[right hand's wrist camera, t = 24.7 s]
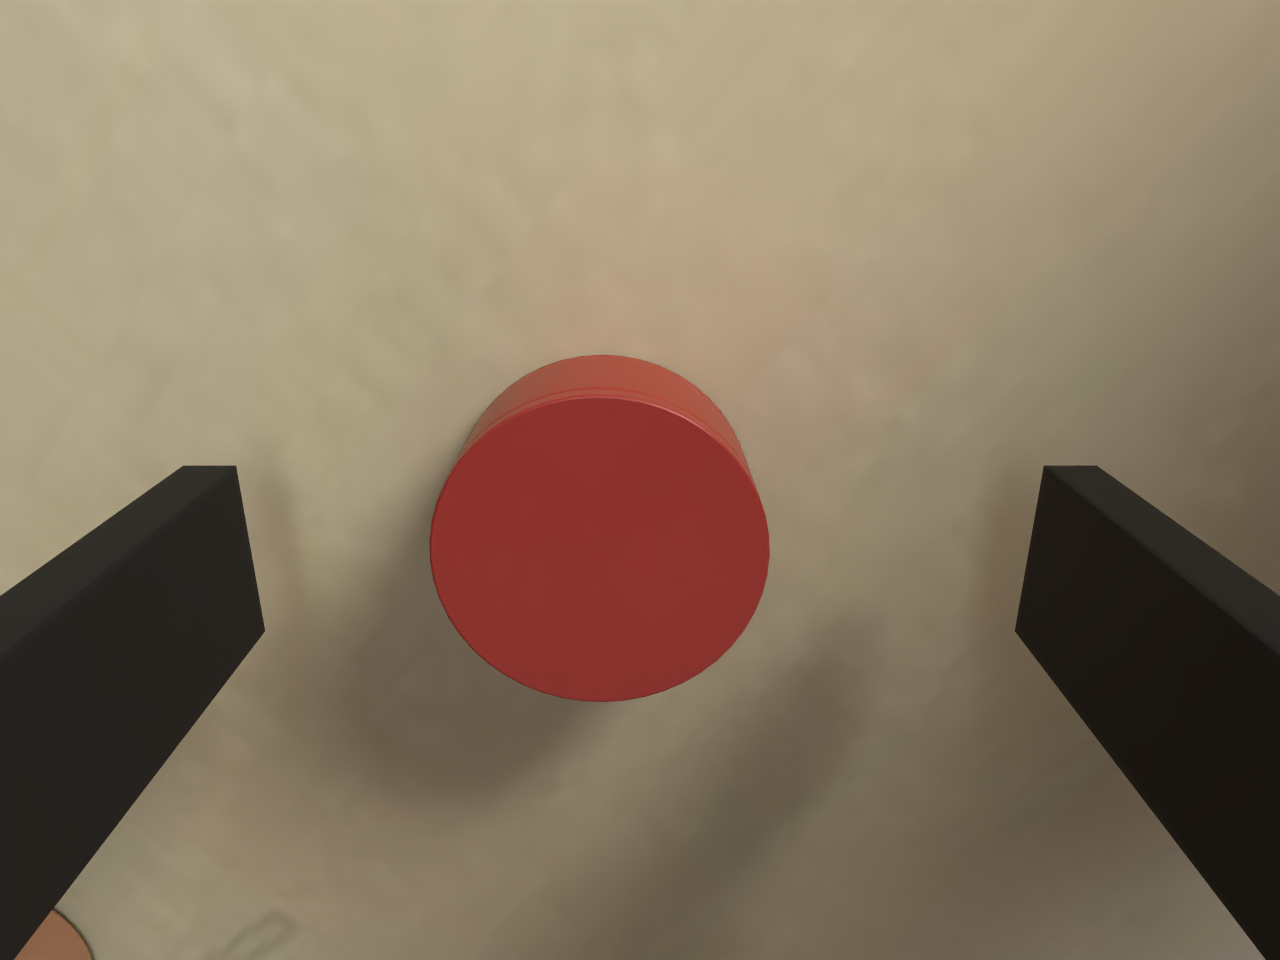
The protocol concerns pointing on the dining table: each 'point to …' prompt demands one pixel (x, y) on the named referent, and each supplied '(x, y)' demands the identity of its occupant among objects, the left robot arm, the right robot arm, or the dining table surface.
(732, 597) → the lid
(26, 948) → the tan tall cylinder
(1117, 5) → the dining table surface
